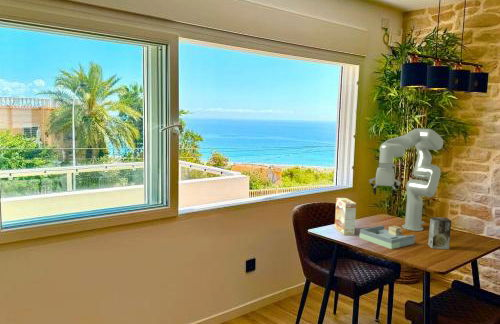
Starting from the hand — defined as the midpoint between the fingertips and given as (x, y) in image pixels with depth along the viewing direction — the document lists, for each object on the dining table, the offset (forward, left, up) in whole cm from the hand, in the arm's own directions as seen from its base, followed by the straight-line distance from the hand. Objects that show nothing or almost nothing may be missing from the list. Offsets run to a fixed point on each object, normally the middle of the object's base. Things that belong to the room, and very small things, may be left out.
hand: (383, 195), depth 227 cm
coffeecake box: (+11, -19, -25) cm, 33 cm away
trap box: (+2, +5, -25) cm, 26 cm away
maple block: (-5, +5, -22) cm, 23 cm away
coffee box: (-15, +26, -25) cm, 40 cm away
